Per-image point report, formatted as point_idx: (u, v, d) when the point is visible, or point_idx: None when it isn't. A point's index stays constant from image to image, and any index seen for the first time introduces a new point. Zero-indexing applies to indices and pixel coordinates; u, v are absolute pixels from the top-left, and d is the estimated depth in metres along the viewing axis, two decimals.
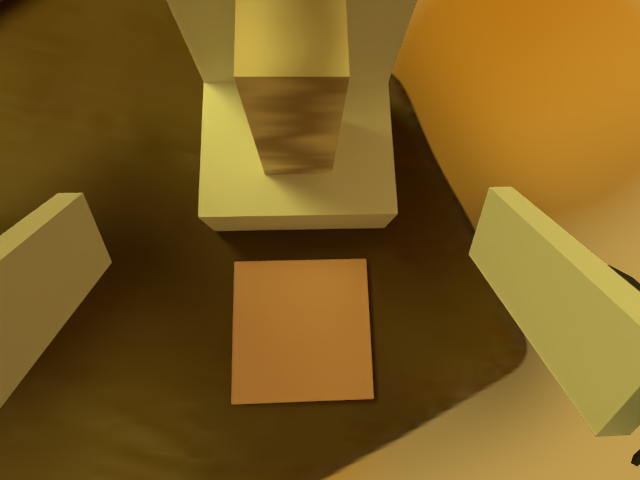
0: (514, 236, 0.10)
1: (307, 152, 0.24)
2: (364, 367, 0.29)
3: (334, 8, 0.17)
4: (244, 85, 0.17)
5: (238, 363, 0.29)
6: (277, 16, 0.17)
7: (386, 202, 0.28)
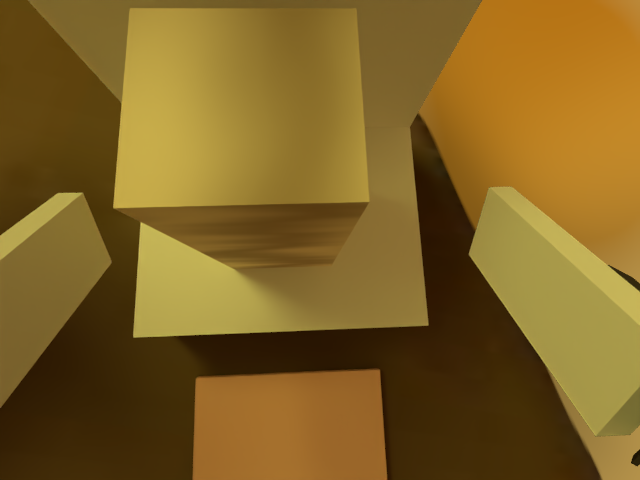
0: (515, 236, 0.10)
1: (292, 256, 0.15)
2: None
3: (334, 49, 0.08)
4: (146, 215, 0.08)
5: None
6: (215, 68, 0.08)
7: (411, 309, 0.19)
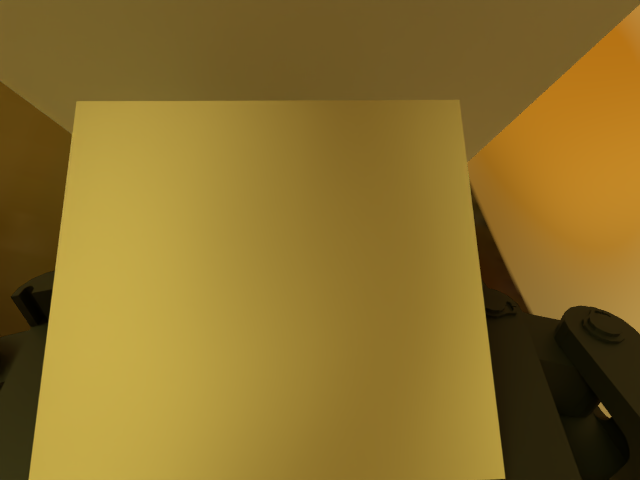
0: None
1: None
2: None
3: (427, 174, 0.05)
4: None
5: None
6: (221, 211, 0.05)
7: None
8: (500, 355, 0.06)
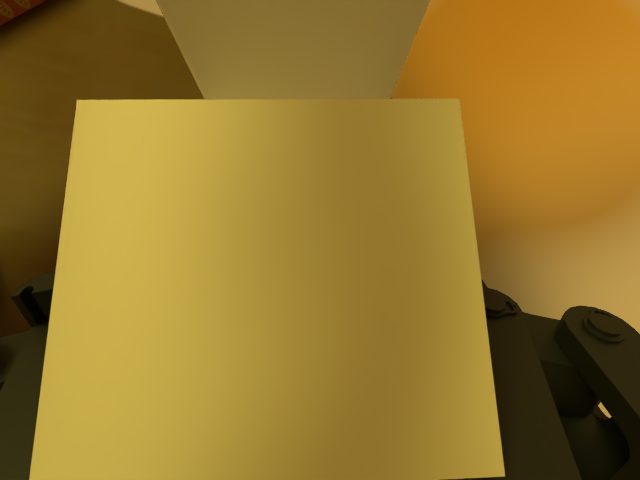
0: None
1: None
2: None
3: (427, 173, 0.05)
4: None
5: None
6: (221, 210, 0.05)
7: None
8: (500, 355, 0.06)
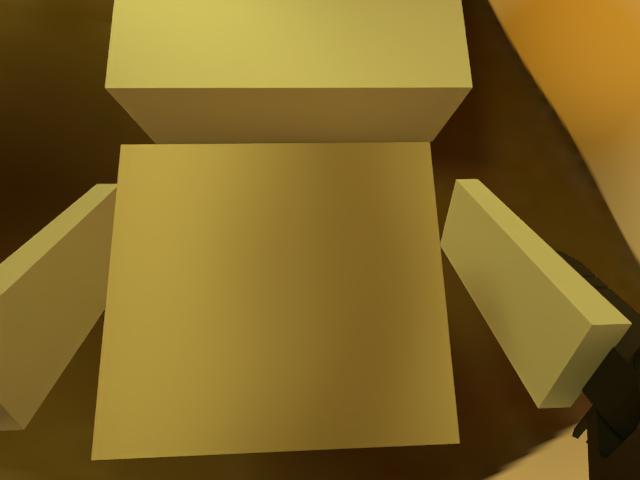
0: (476, 225, 0.10)
1: None
2: None
3: (402, 203, 0.06)
4: None
5: None
6: (238, 234, 0.06)
7: (451, 69, 0.15)
8: None
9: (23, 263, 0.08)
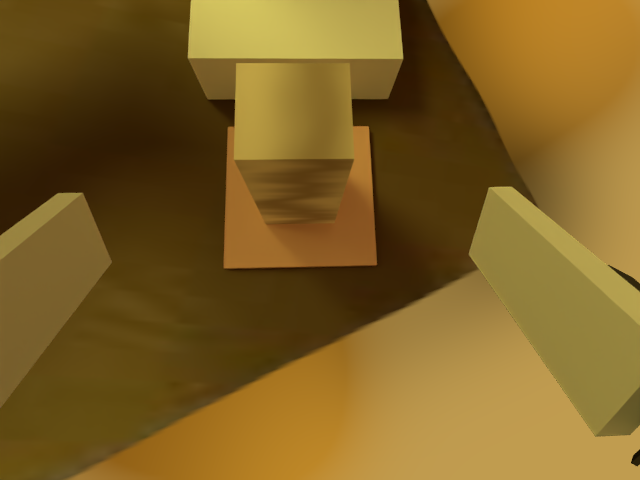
0: (514, 236, 0.10)
1: (309, 209, 0.23)
2: (366, 233, 0.27)
3: (338, 84, 0.16)
4: (245, 165, 0.16)
5: (231, 227, 0.27)
6: (279, 93, 0.16)
7: (391, 48, 0.26)
8: None
9: None
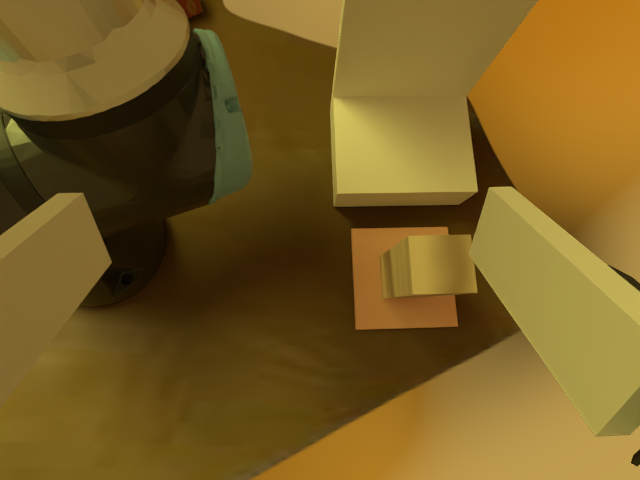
0: (514, 236, 0.10)
1: None
2: (450, 304, 0.40)
3: (465, 247, 0.29)
4: (415, 294, 0.29)
5: (359, 301, 0.40)
6: (433, 254, 0.29)
7: (469, 183, 0.39)
8: None
9: None
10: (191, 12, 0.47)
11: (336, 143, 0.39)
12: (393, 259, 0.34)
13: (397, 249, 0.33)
